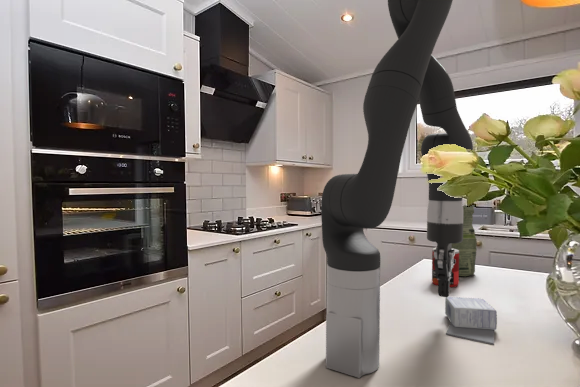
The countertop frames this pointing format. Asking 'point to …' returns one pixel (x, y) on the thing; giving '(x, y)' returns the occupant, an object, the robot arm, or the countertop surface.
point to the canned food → (455, 270)
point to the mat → (472, 334)
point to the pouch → (467, 244)
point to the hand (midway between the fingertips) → (443, 295)
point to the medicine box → (470, 313)
